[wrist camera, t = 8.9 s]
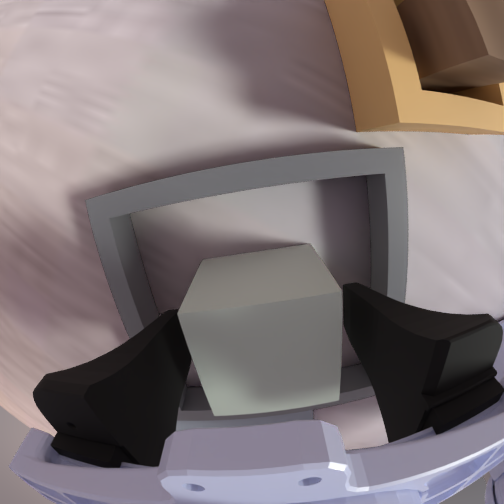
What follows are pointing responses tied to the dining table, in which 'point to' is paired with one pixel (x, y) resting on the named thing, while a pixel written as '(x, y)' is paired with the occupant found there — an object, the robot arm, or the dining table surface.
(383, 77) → the socket
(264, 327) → the block
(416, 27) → the rod
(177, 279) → the dining table surface
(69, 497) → the robot arm
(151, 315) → the grey square frame
